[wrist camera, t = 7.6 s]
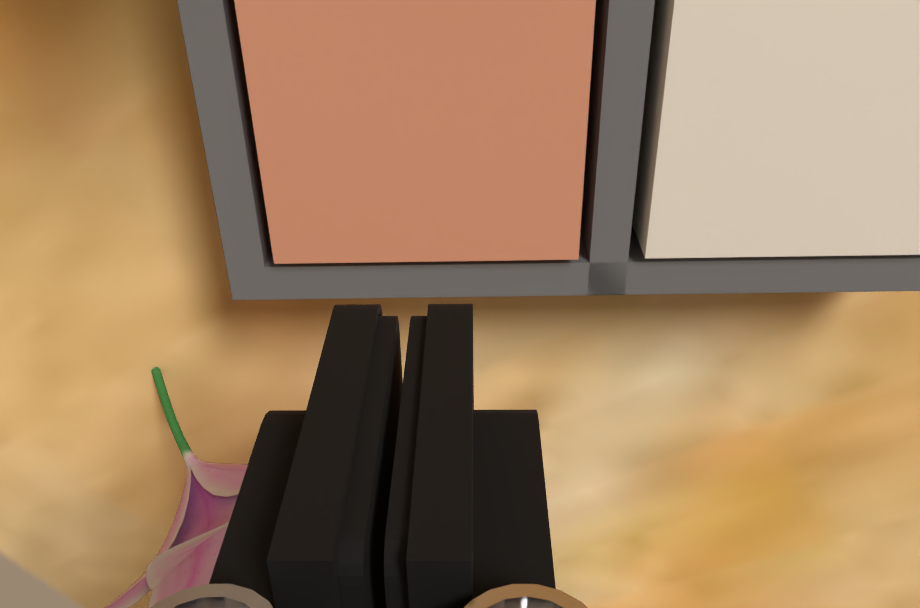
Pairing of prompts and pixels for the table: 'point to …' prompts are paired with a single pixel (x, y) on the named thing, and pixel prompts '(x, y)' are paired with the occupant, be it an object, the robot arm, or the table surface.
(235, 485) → the lily
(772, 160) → the key white
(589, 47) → the key terracotta
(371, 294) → the key console
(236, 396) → the table surface
